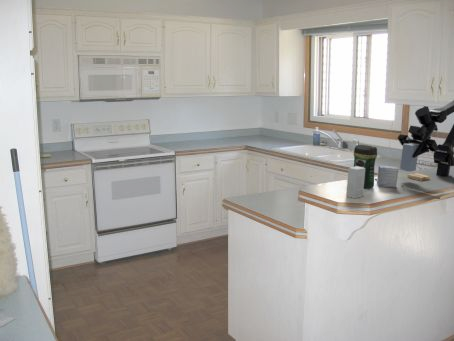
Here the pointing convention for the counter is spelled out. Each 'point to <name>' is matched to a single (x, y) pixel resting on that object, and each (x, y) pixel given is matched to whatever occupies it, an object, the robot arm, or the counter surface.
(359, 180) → the skincare box
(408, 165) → the slate block
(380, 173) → the medicine box
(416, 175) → the top slab
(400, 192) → the counter surface
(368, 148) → the coffee jar
